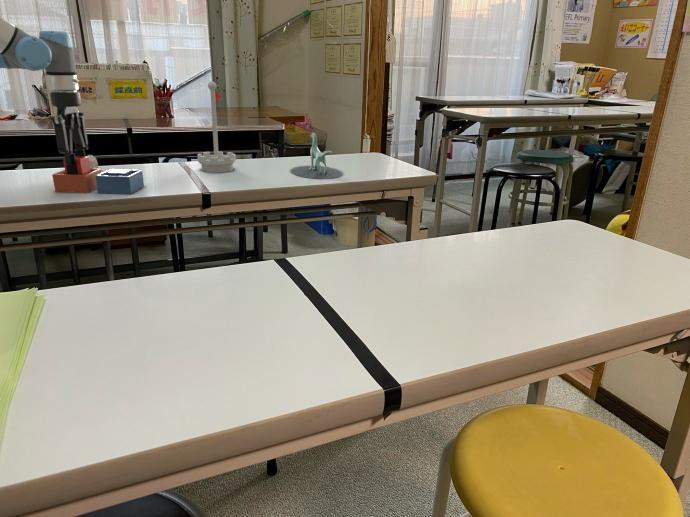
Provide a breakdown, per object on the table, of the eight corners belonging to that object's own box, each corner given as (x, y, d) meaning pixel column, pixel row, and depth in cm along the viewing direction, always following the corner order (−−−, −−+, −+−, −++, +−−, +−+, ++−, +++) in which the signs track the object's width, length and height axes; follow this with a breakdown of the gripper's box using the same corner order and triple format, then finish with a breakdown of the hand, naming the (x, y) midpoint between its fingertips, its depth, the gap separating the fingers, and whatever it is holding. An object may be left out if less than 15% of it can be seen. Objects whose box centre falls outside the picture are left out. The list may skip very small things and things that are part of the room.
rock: (89, 183, 159) (85, 160, 157) (78, 175, 170) (74, 153, 167) (109, 181, 163) (105, 158, 160) (97, 173, 173) (94, 152, 171)
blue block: (109, 189, 151) (107, 172, 149) (117, 185, 155) (115, 169, 154) (126, 190, 151) (124, 173, 149) (133, 186, 155) (131, 169, 154)
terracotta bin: (55, 191, 149) (52, 174, 147) (72, 184, 158) (69, 167, 156) (88, 192, 149) (85, 175, 147) (103, 185, 158) (101, 168, 156)
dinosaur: (353, 178, 177) (354, 139, 172) (304, 181, 170) (304, 141, 166) (328, 164, 198) (328, 130, 194) (283, 167, 192) (283, 131, 187)
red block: (65, 176, 150) (62, 159, 148) (74, 172, 154) (71, 156, 153) (82, 176, 150) (80, 159, 148) (91, 173, 154) (88, 156, 153)
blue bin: (97, 193, 149) (95, 175, 147) (112, 185, 158) (110, 169, 156) (131, 194, 149) (128, 176, 147) (144, 186, 158) (142, 170, 156)
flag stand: (224, 174, 177) (218, 82, 166) (191, 171, 181) (184, 81, 170) (242, 167, 189) (238, 81, 178) (211, 164, 192) (205, 80, 182)
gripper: (60, 93, 135) (75, 180, 144) (93, 89, 152) (104, 168, 160) (32, 92, 135) (48, 180, 144) (68, 89, 152) (80, 167, 160)
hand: (78, 173), depth 152 cm, fingers closed on red block, 5 cm apart
